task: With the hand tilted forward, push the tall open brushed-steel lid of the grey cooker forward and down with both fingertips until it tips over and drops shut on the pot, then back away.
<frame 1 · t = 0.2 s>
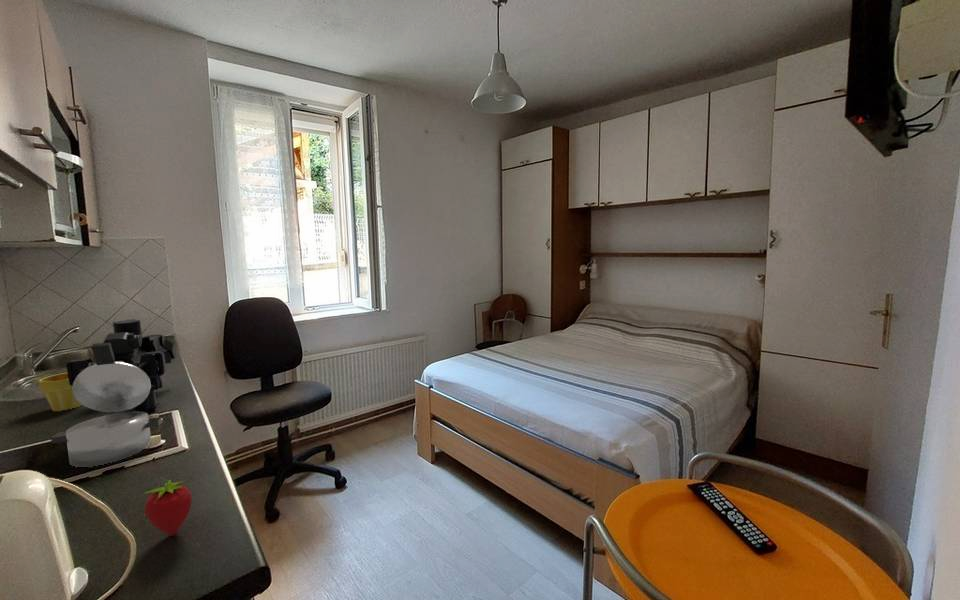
hand: (107, 378, 96), 16 cm above the counter, tool horizontal, fingers open, 9 cm apart
plant pot: (67, 408, 124), on the counter
coffee box: (125, 397, 132), on the counter
cooker pot: (112, 452, 94), on the counter
cooker lid: (111, 377, 96), point 17 cm above the counter, hinge at 68.4°
strawberry: (172, 536, 65), on the counter
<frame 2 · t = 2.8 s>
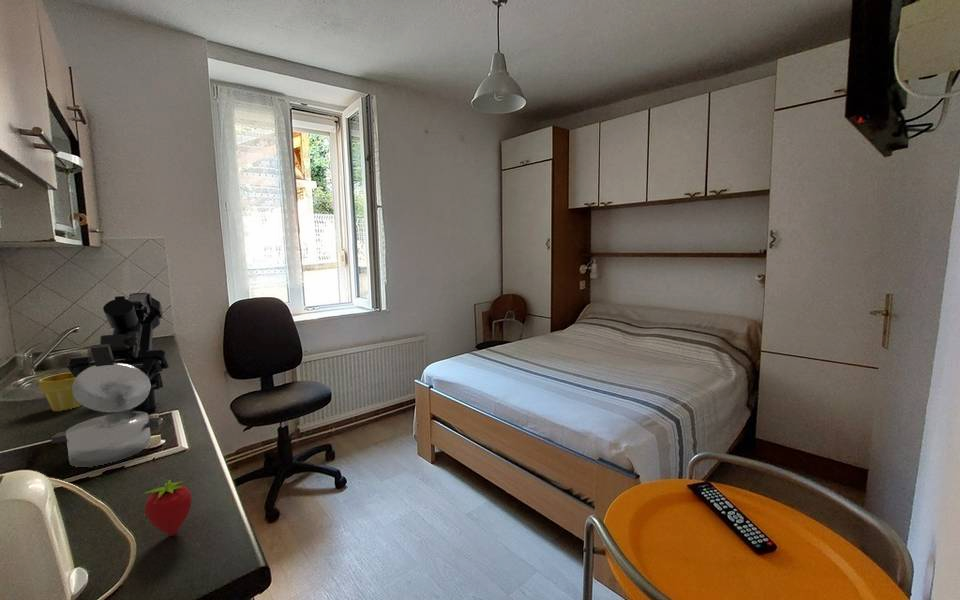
hand: (115, 393, 98), 12 cm above the counter, tool tilted 45°
cooker lid: (111, 378, 96), point 16 cm above the counter, hinge at 66.4°, touching gripper
everything else where it was.
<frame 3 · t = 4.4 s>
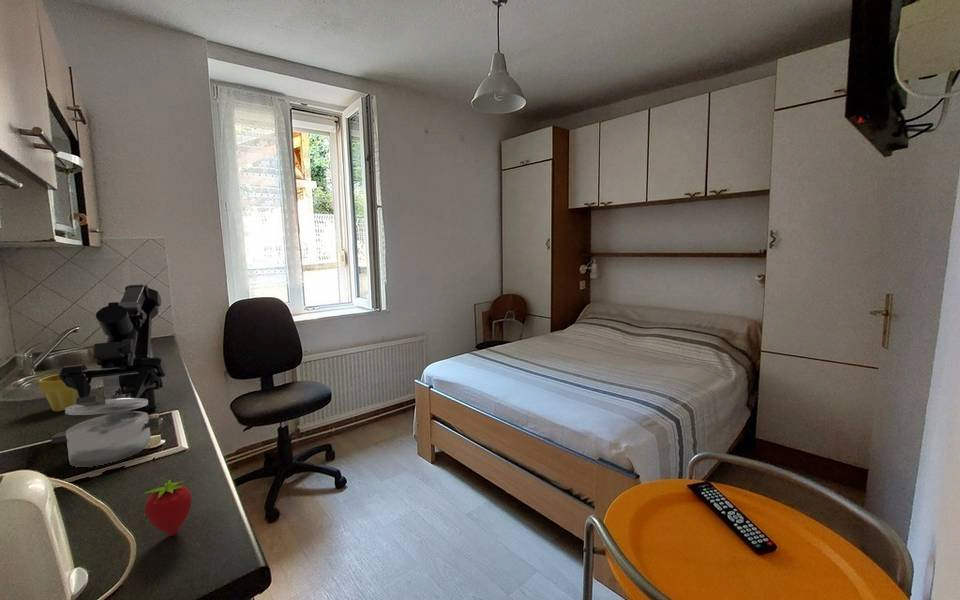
hand: (109, 403, 94), 11 cm above the counter, tool tilted 45°, fingers open, 9 cm apart
cooker lid: (104, 402, 91), point 12 cm above the counter, hinge at 24.1°
everything else where it was.
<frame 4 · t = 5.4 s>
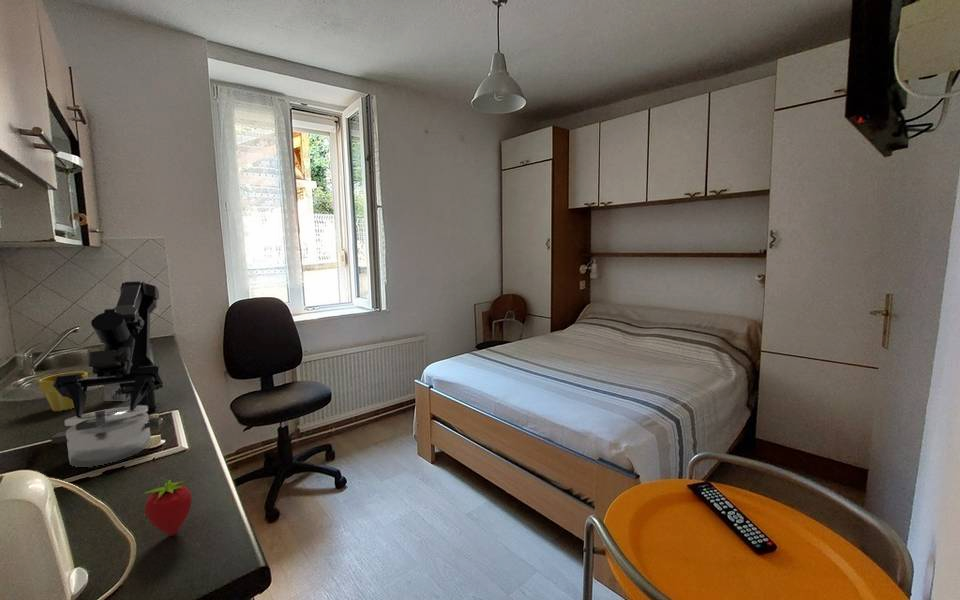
hand: (105, 413, 92), 10 cm above the counter, tool tilted 45°, fingers open, 9 cm apart
cooker lid: (104, 414, 91), point 10 cm above the counter, hinge at 8.3°
everything else where it was.
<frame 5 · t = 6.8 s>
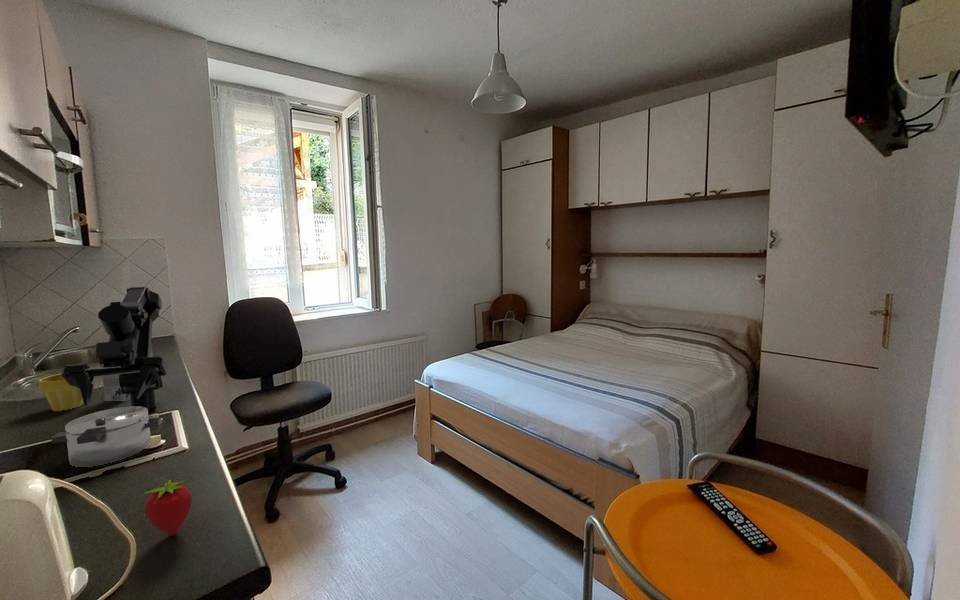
hand: (111, 401, 95), 11 cm above the counter, tool tilted 45°, fingers open, 9 cm apart
cooker lid: (104, 420, 91), point 8 cm above the counter, hinge at -0.1°
everything else where it was.
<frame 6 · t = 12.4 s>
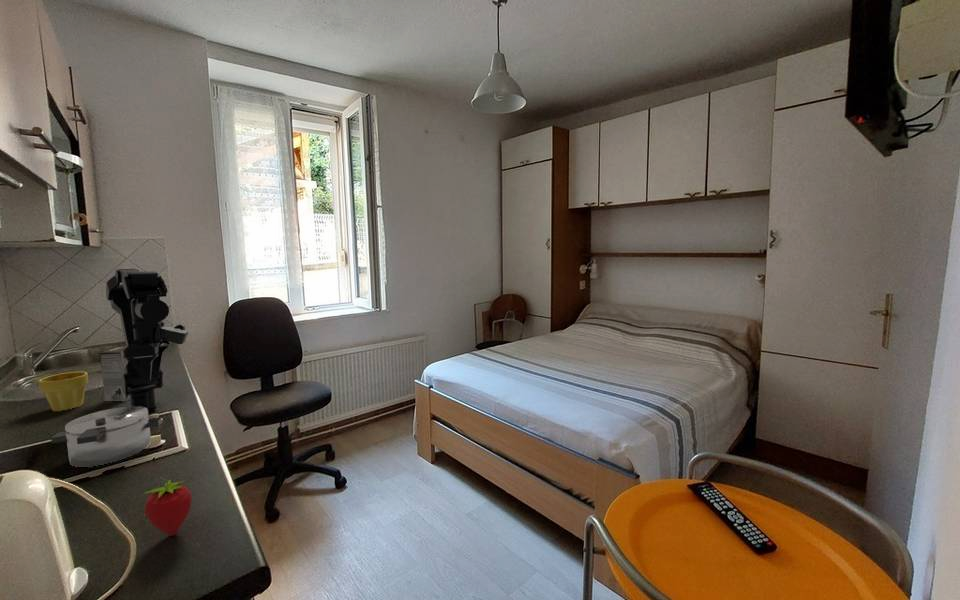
hand: (152, 376, 109), 13 cm above the counter, tool pointing down, fingers open, 9 cm apart
nothing on the counter moved.
at the end: cooker lid at +0° (first picture: +68°); the gripper is holding nothing; plant pot moved 0.2 cm from its start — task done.
